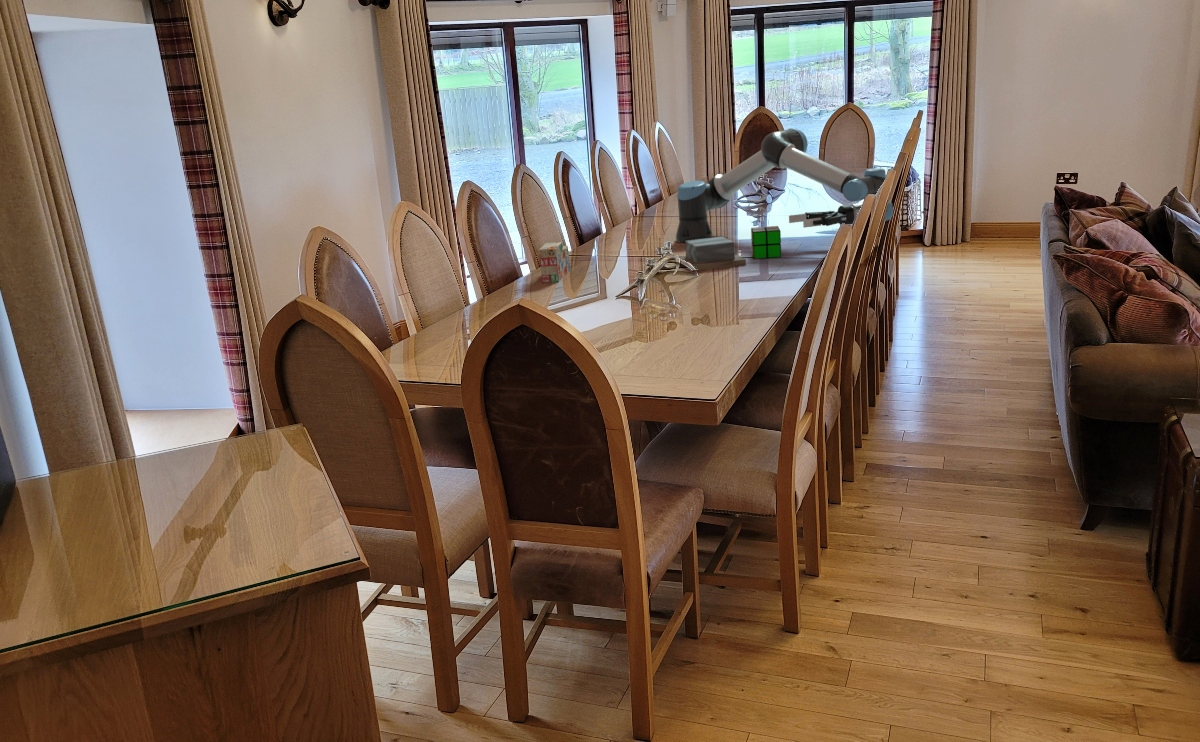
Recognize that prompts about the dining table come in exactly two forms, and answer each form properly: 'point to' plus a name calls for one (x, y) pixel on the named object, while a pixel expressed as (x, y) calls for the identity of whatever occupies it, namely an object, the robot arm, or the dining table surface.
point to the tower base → (712, 253)
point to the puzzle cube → (766, 242)
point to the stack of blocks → (554, 261)
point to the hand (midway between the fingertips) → (796, 221)
